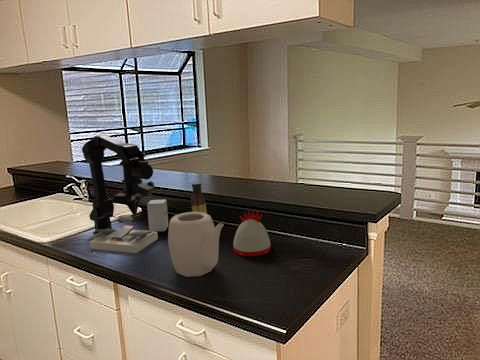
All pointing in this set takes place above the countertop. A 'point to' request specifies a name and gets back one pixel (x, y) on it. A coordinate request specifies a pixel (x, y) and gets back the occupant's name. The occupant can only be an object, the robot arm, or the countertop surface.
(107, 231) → the rocker
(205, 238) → the watering can
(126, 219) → the soupspoon
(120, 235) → the rocker
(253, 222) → the kitchen timer
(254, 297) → the countertop surface
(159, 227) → the supplement box
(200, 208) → the sauce bottle
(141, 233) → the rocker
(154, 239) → the switch board
